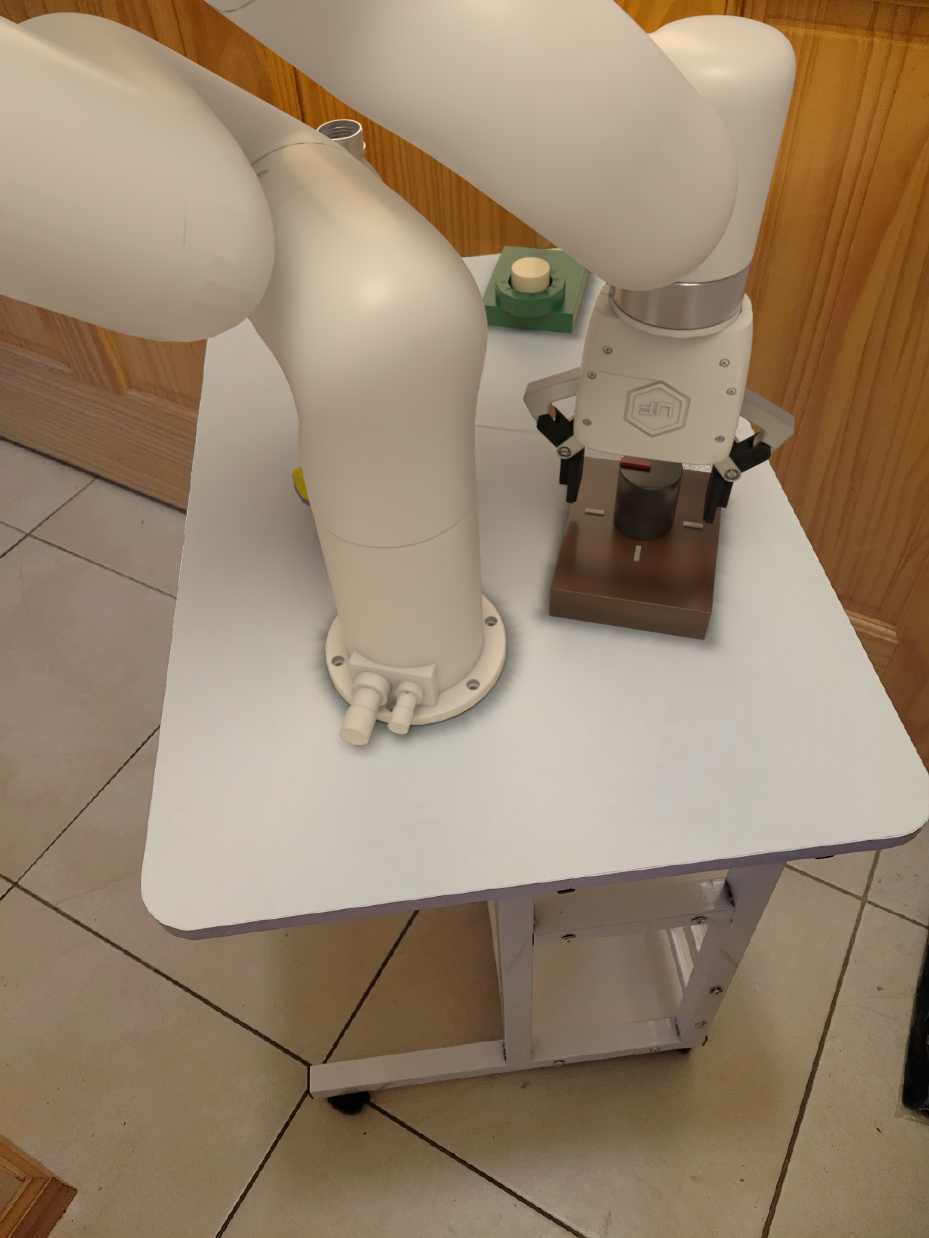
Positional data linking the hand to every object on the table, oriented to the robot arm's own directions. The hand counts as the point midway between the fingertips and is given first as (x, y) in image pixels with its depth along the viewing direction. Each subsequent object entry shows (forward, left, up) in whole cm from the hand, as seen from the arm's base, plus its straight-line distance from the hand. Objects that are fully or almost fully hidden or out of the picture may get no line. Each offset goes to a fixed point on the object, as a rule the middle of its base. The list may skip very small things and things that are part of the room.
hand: (640, 500), depth 64 cm
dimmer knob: (0, 0, -2) cm, 2 cm away
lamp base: (+32, +14, -5) cm, 35 cm away
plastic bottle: (+21, +28, -5) cm, 35 cm away
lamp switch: (+29, +14, -2) cm, 32 cm away
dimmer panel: (-1, 0, -5) cm, 5 cm away
